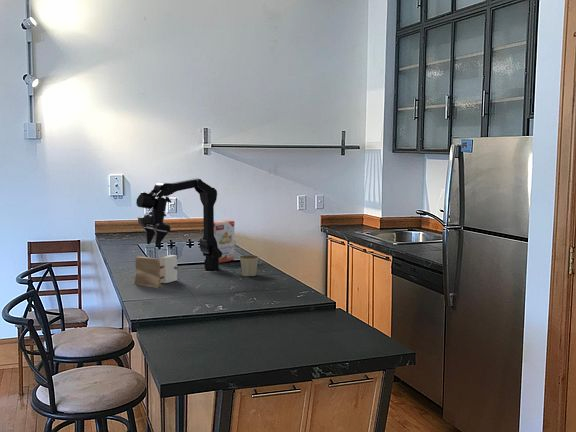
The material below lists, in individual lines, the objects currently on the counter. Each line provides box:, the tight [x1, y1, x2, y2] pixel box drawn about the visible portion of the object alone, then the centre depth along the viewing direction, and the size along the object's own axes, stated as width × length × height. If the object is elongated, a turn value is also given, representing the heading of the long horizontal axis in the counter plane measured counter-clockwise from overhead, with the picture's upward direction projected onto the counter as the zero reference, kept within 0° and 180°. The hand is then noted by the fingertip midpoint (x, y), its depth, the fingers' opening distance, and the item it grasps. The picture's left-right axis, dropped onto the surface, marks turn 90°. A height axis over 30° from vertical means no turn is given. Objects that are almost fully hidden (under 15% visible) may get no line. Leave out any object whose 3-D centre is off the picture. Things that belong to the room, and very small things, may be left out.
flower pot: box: [238, 254, 260, 277], centre depth 297 cm, size 9×9×9 cm
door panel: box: [159, 254, 179, 284], centre depth 281 cm, size 8×4×11 cm, turn 152°
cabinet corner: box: [134, 256, 164, 289], centre depth 279 cm, size 15×14×12 cm
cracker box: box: [214, 219, 235, 264], centre depth 331 cm, size 14×6×21 cm, turn 143°
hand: (152, 245), depth 287 cm, fingers open, 9 cm apart
